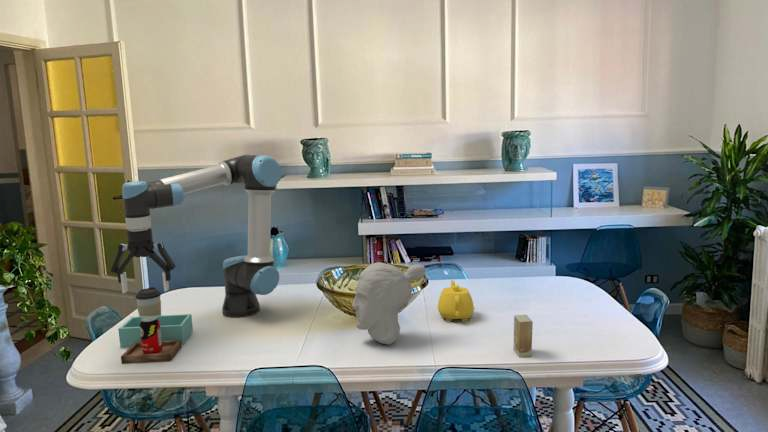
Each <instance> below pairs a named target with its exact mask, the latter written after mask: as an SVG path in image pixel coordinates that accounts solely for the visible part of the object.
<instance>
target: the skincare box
mask: <svg viewBox="0 0 768 432" xmlns="http://www.w3.org/2000/svg"><path fill="white" fill-rule="evenodd" d="M533 323H534V322H533V320H532V319H531V318H530V317H529V316H528V314H517V315H516V314H515V315H514V317H513V351H514V352H515V354H516V355H517V357H519V358H527V357H532V354H533V353H532V351H533Z"/></svg>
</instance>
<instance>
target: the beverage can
mask: <svg viewBox="0 0 768 432" xmlns="http://www.w3.org/2000/svg"><path fill="white" fill-rule="evenodd" d="M140 334H141V343H142V351H143V353H145V354H157V353H159V352H160V351H161V349H162V340H161V331H160V322H159V320H158V319H157V317H156V316H148V317H144V318H142V319H141V323H140Z"/></svg>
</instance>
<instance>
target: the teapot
mask: <svg viewBox="0 0 768 432" xmlns="http://www.w3.org/2000/svg"><path fill="white" fill-rule="evenodd" d="M437 309H438V313H439V315H440V316H441V317H442V318H445V322H449V323H450V322H453V320H455V319H456V320H457V319H458V320H461V321H462V322H468V321H469V319H468V318H472V316H473V314H474V311H475V308H474V301H473V298H472V296H471V294H470V292H469V290H468V288H466V287H462V286H460V285H456V282H455V280H454V279H451V280H450V287H445V288H443V289H442V291H441V293H440V295H439V298H438V304H437Z"/></svg>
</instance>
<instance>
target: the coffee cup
mask: <svg viewBox="0 0 768 432" xmlns="http://www.w3.org/2000/svg"><path fill="white" fill-rule="evenodd" d="M161 295H162V294H161V291H160V290H158V289H157V288H156V287H154V286H150V287H148V288H143V289H140V290H138V292H136V294H135V300H136V306H137V313H138V317H140V316H162V301H161Z"/></svg>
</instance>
